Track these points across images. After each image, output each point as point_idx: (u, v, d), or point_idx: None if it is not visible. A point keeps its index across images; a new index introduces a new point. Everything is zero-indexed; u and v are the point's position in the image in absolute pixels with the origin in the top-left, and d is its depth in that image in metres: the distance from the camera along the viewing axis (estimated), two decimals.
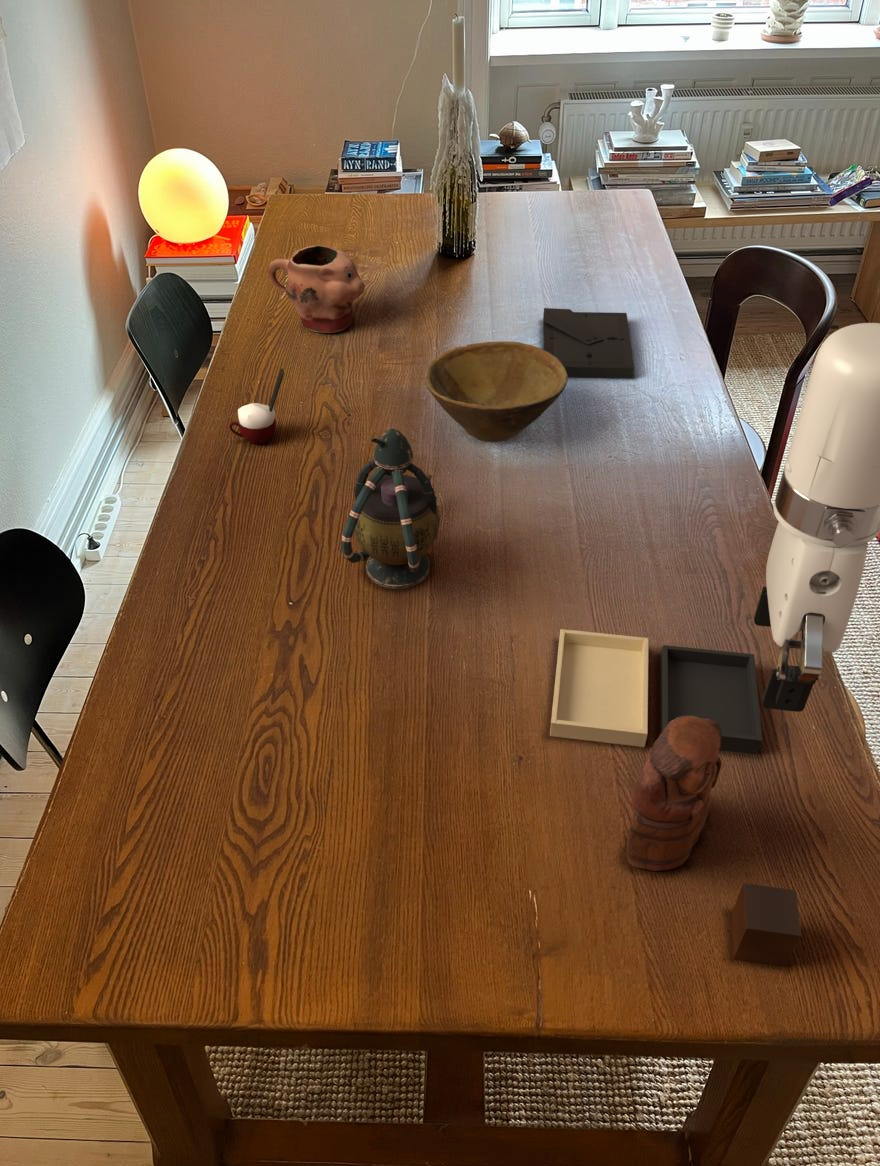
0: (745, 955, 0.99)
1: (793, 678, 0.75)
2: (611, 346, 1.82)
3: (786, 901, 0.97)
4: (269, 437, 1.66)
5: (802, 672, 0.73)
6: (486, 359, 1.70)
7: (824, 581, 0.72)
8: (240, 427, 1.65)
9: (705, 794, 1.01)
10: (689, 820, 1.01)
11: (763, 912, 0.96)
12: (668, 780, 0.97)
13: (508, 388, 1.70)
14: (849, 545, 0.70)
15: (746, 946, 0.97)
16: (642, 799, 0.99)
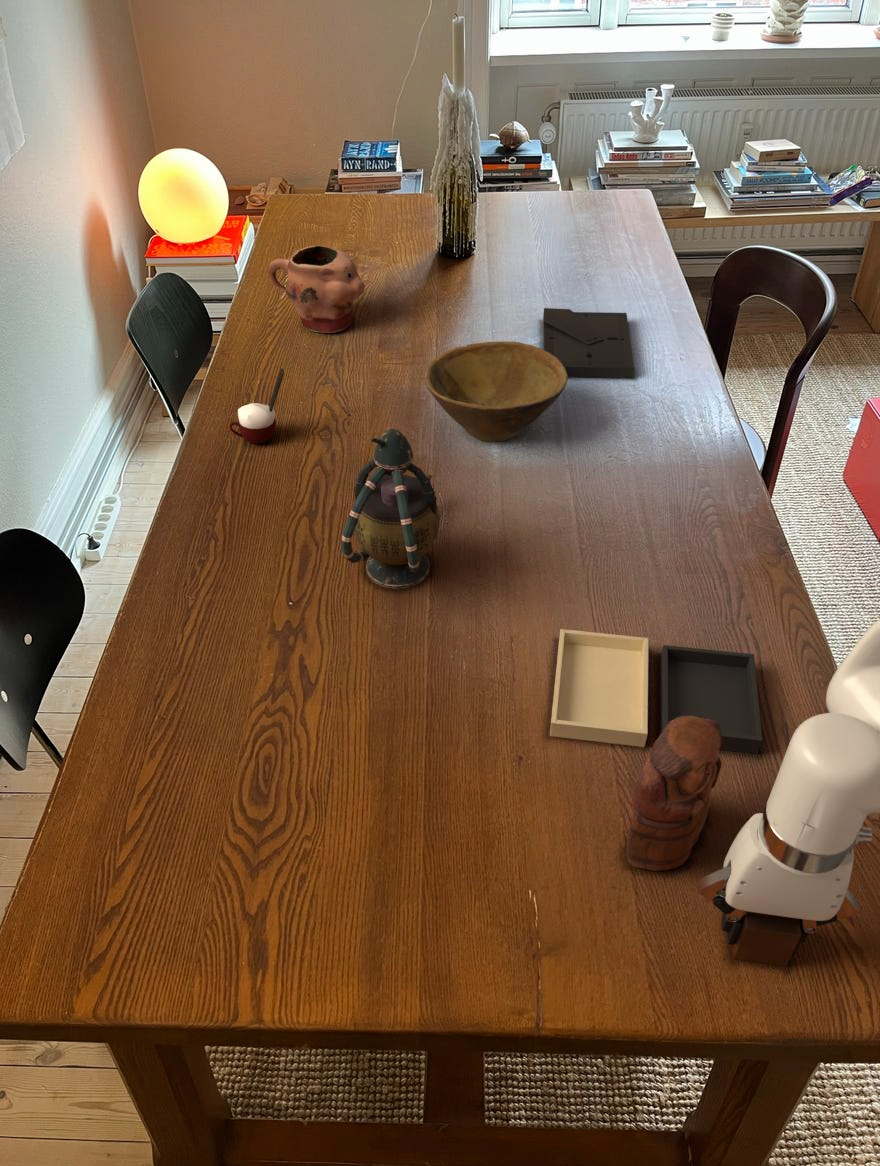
0: (745, 955, 0.99)
1: (834, 919, 0.95)
2: (611, 346, 1.82)
3: None
4: (269, 437, 1.66)
5: (853, 914, 0.94)
6: (486, 359, 1.70)
7: None
8: (240, 427, 1.65)
9: (705, 794, 1.01)
10: (689, 820, 1.01)
11: None
12: (668, 780, 0.97)
13: (508, 388, 1.70)
14: None
15: (746, 946, 0.97)
16: (642, 799, 0.99)
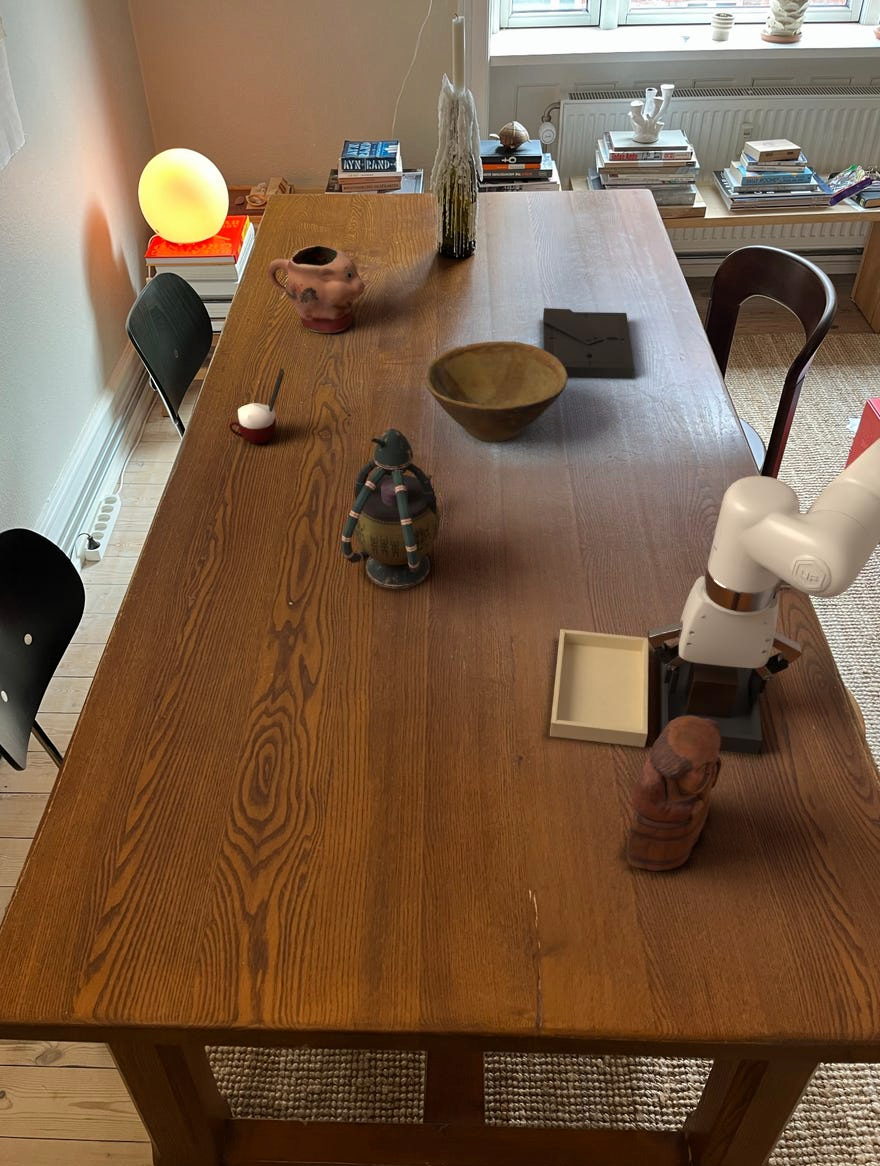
0: (695, 709, 1.21)
1: (786, 666, 1.16)
2: (611, 346, 1.82)
3: None
4: (269, 437, 1.66)
5: (798, 656, 1.14)
6: (486, 359, 1.70)
7: None
8: (240, 427, 1.65)
9: (705, 794, 1.01)
10: (689, 820, 1.01)
11: (709, 669, 1.18)
12: (668, 780, 0.97)
13: (508, 388, 1.70)
14: None
15: (695, 699, 1.20)
16: (642, 799, 0.99)
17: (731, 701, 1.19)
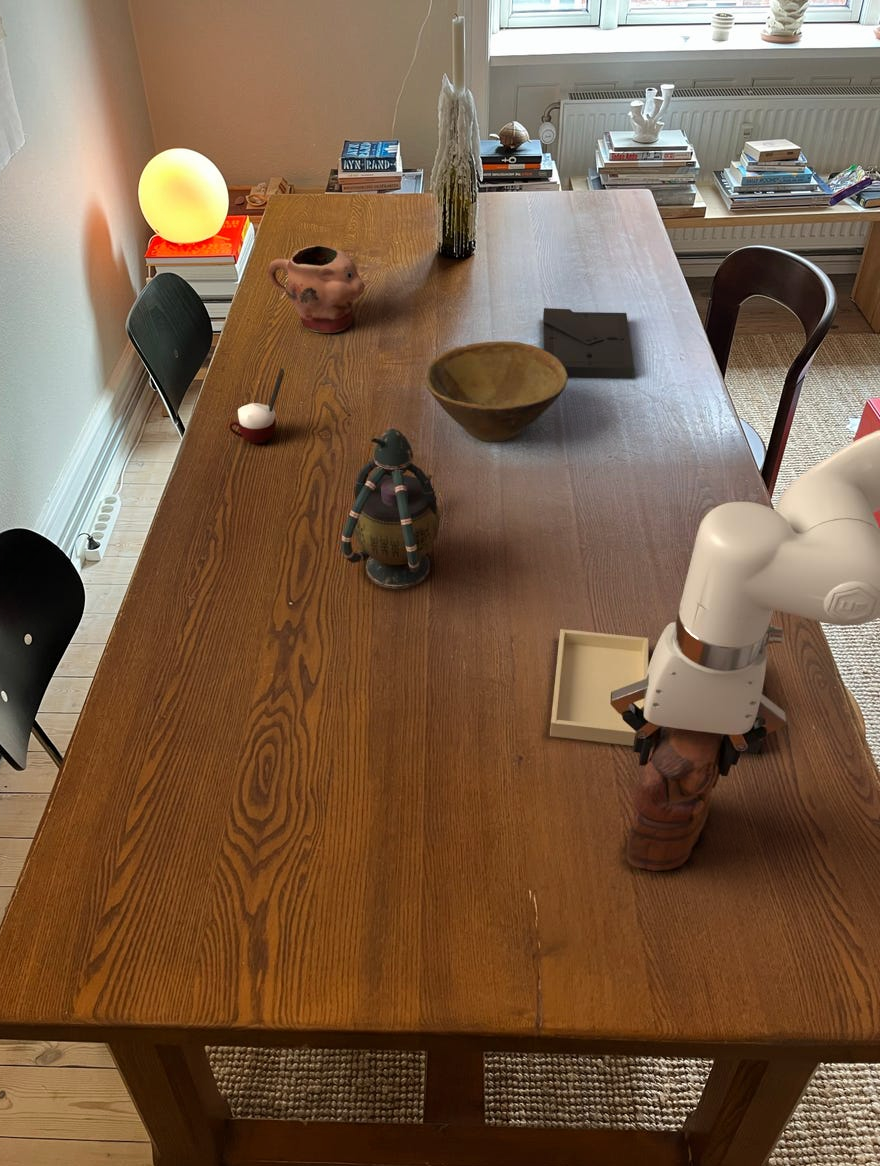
0: None
1: (764, 735, 0.95)
2: (611, 346, 1.83)
3: None
4: (269, 437, 1.66)
5: (781, 726, 0.94)
6: (486, 359, 1.70)
7: None
8: (240, 427, 1.65)
9: (706, 794, 1.01)
10: (690, 820, 1.01)
11: None
12: (669, 780, 0.97)
13: (508, 388, 1.70)
14: None
15: None
16: (643, 799, 0.99)
17: None
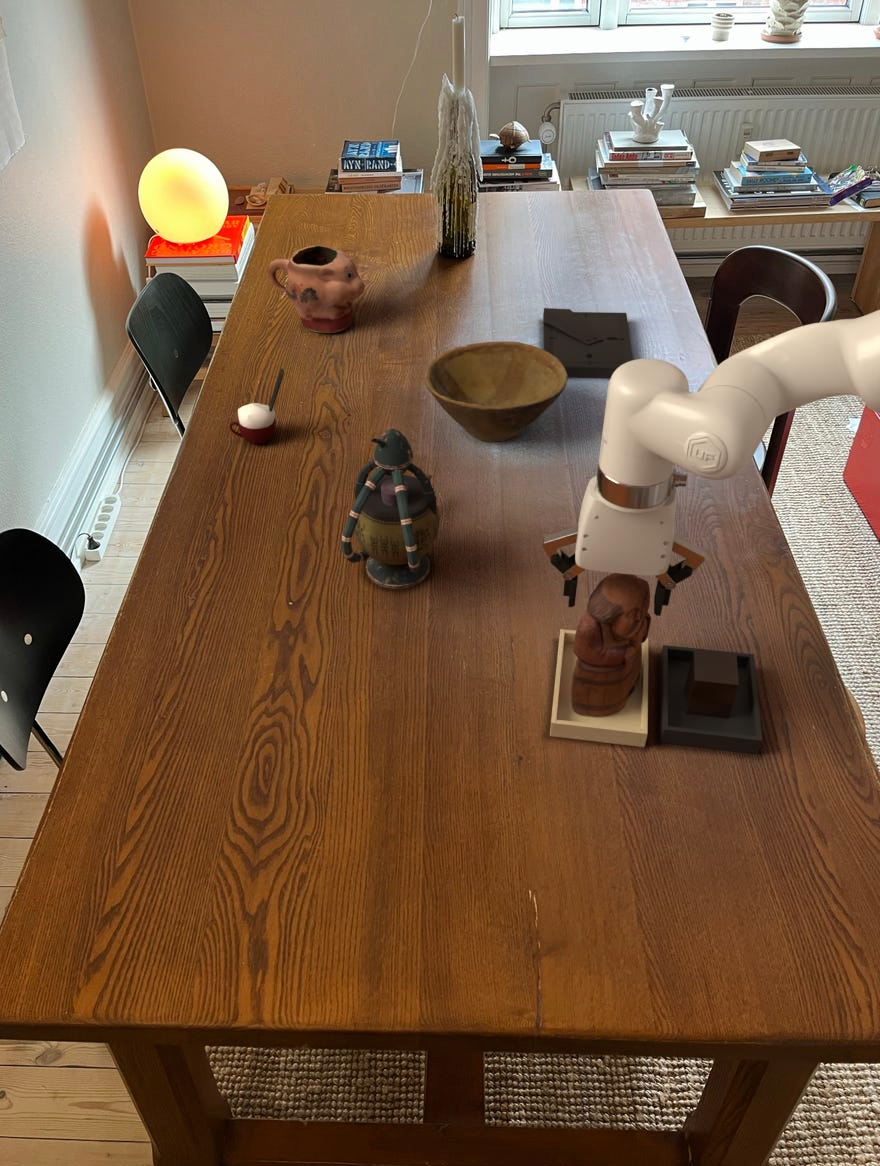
0: (695, 709, 1.21)
1: (690, 573, 1.09)
2: (611, 346, 1.83)
3: (728, 662, 1.19)
4: (269, 437, 1.66)
5: (702, 561, 1.08)
6: (486, 359, 1.70)
7: None
8: (240, 427, 1.65)
9: (636, 641, 1.16)
10: (623, 665, 1.16)
11: (709, 669, 1.18)
12: (603, 625, 1.12)
13: (508, 388, 1.70)
14: None
15: (695, 699, 1.20)
16: (581, 644, 1.14)
17: (731, 701, 1.19)
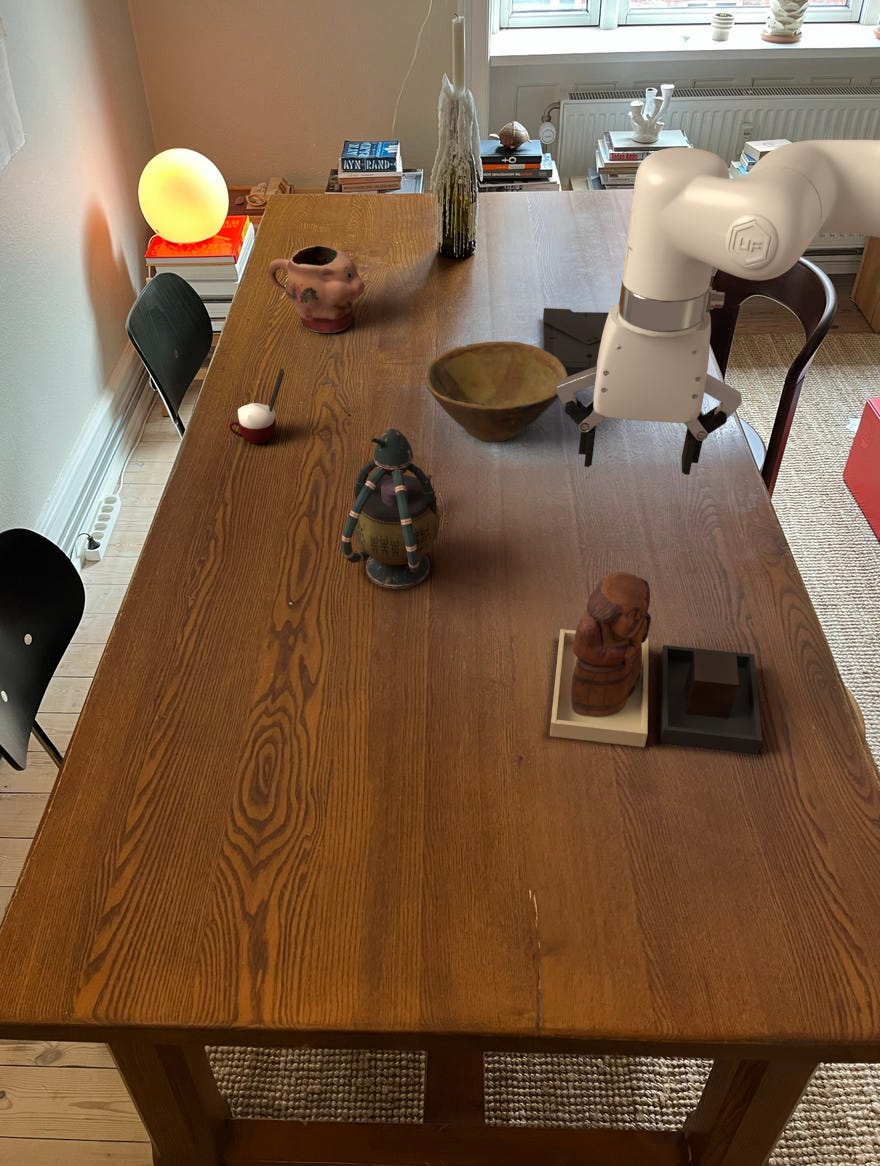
0: (695, 709, 1.21)
1: (724, 420, 0.95)
2: None
3: (728, 662, 1.19)
4: (269, 437, 1.66)
5: (738, 405, 0.94)
6: (486, 359, 1.70)
7: None
8: (240, 427, 1.65)
9: (636, 641, 1.16)
10: (623, 665, 1.16)
11: (709, 669, 1.18)
12: (602, 625, 1.12)
13: (508, 388, 1.70)
14: None
15: (695, 699, 1.20)
16: (581, 644, 1.14)
17: (731, 701, 1.19)
